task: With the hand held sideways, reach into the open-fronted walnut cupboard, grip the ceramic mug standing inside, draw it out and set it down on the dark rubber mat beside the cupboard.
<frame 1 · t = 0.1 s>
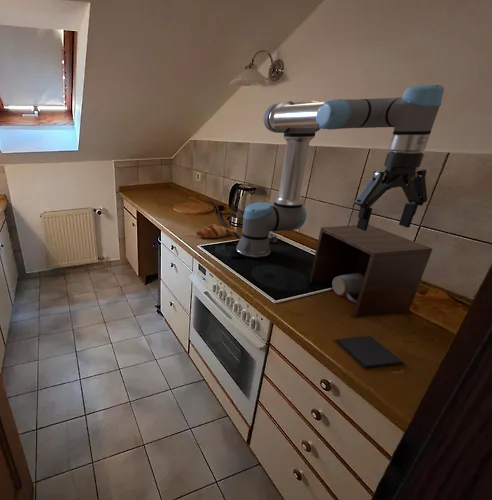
hand: (382, 227, 87), 28 cm above the worktop, tool pointing down, fingers open, 13 cm apart
egg carton: (267, 239, 157), on the worktop
cupboard: (352, 295, 105), on the worktop
mat: (367, 352, 80), on the worktop
croissant: (214, 236, 164), on the worktop
ceramic mug: (349, 296, 105), on the worktop
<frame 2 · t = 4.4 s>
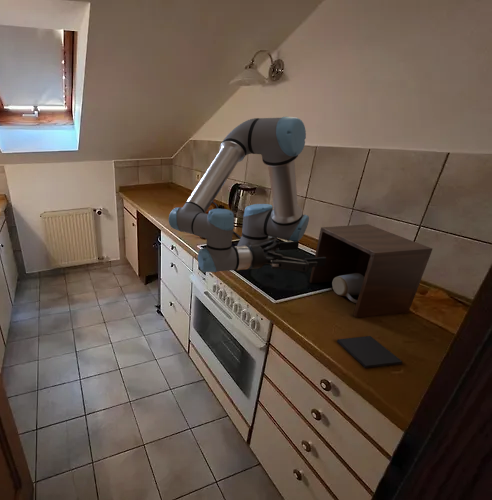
hand: (310, 252, 96), 18 cm above the worktop, tool horizontal, fingers open, 13 cm apart
nothing on the worktop moved.
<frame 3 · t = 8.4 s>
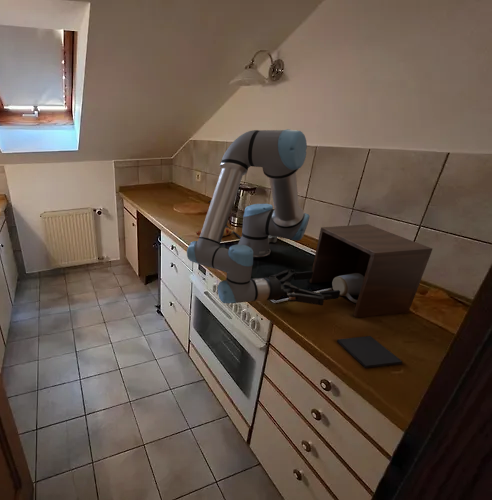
hand: (324, 283, 101), 6 cm above the worktop, tool horizontal, fingers open, 13 cm apart
nothing on the worktop moved.
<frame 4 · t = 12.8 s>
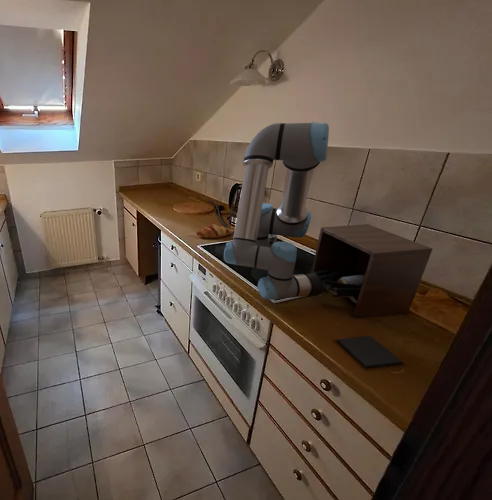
hand: (367, 279, 103), 6 cm above the worktop, tool horizontal, fingers closed on ceramic mug, 7 cm apart
ceramic mug: (353, 298, 104), on the worktop, touching gripper
everything else where it was.
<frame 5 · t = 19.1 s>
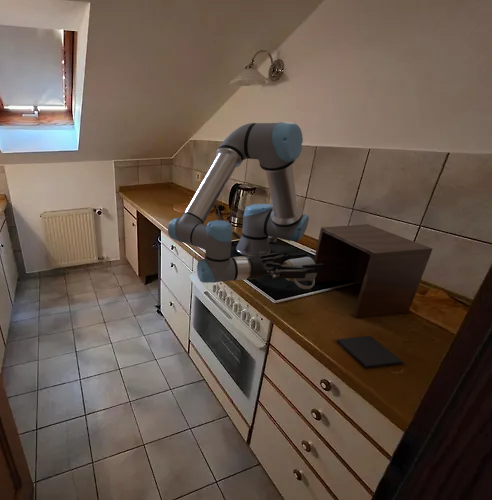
hand: (313, 262, 97), 15 cm above the worktop, tool horizontal, fingers closed on ceramic mug, 7 cm apart
ceramic mug: (299, 282, 98), point 9 cm above the worktop, touching gripper
everything else where it was.
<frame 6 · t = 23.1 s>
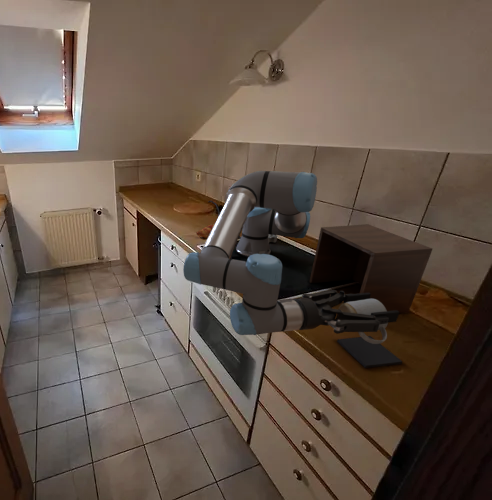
hand: (381, 306, 74), 14 cm above the worktop, tool horizontal, fingers closed on ceramic mug, 7 cm apart
ceramic mug: (362, 331, 75), point 8 cm above the worktop, touching gripper
everything else where it was.
when the fingers open (7 cm above the worktop, at t = 25.9 s): ceramic mug stays where it is, resting on mat.
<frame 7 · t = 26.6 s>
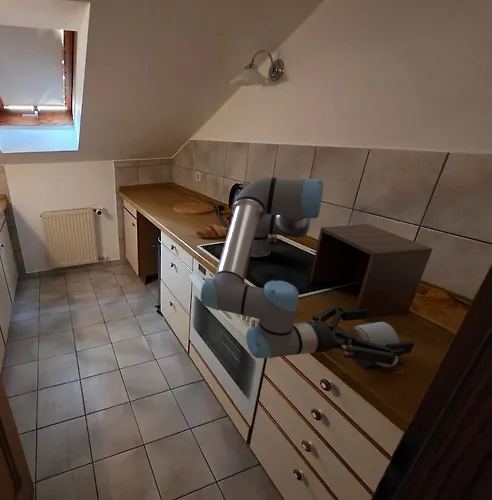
hand: (386, 329, 77), 7 cm above the worktop, tool horizontal, fingers open, 13 cm apart
ceramic mug: (373, 353, 78), point 1 cm above the worktop, touching mat
everything else where it was.
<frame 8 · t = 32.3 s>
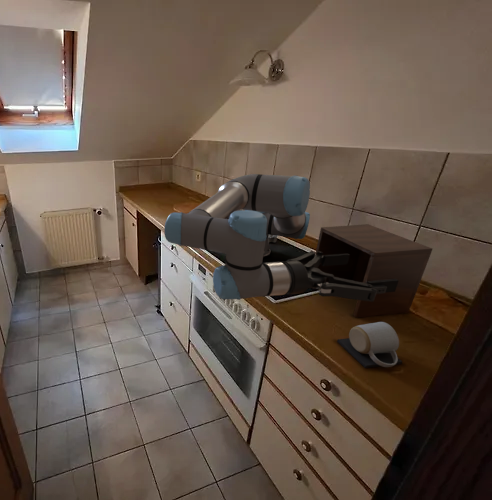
hand: (369, 270, 69), 25 cm above the worktop, tool horizontal, fingers open, 13 cm apart
nothing on the worktop moved.
at the end: ceramic mug inside the target area on the mat (1.3 cm from its centre), point 0.6 cm above the mat's base; ceramic mug tilted 2°; the gripper is holding nothing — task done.
